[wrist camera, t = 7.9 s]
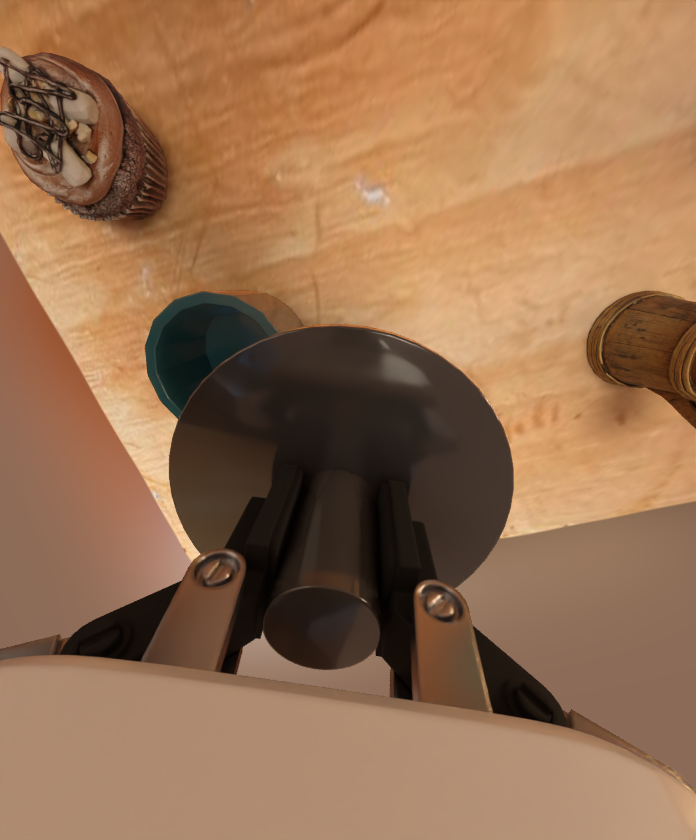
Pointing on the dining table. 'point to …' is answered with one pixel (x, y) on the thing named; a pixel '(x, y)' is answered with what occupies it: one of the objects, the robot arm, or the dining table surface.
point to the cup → (207, 337)
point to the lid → (341, 472)
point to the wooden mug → (649, 347)
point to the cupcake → (80, 138)
